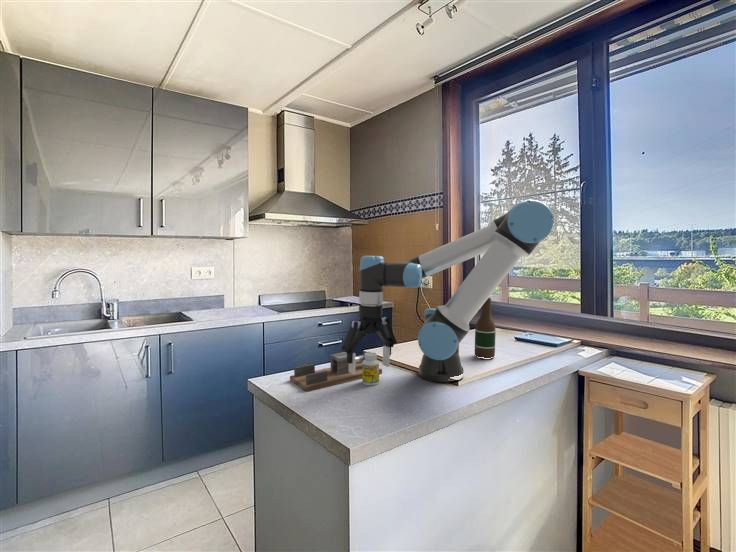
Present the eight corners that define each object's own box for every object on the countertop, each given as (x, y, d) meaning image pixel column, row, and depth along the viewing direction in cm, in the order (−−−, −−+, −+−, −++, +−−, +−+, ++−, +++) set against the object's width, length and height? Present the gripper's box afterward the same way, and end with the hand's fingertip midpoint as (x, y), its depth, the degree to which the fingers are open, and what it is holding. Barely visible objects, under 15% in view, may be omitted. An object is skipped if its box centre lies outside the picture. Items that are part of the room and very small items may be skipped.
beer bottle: (495, 360, 150) (497, 299, 148) (475, 359, 152) (476, 298, 150) (493, 354, 158) (495, 296, 156) (473, 353, 159) (475, 295, 157)
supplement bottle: (380, 380, 128) (381, 352, 127) (376, 386, 122) (376, 356, 122) (365, 379, 129) (365, 350, 128) (360, 384, 124) (360, 355, 123)
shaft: (372, 364, 137) (372, 352, 137) (340, 371, 130) (340, 359, 129) (366, 361, 140) (366, 350, 140) (334, 368, 133) (334, 356, 132)
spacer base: (382, 373, 135) (382, 353, 134) (306, 391, 118) (306, 368, 117) (362, 364, 145) (362, 345, 144) (289, 380, 128) (289, 359, 127)
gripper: (393, 299, 134) (392, 359, 136) (330, 305, 119) (330, 372, 121) (408, 302, 128) (406, 365, 130) (343, 309, 113) (342, 379, 115)
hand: (369, 369), depth 126 cm, fingers open, 13 cm apart
